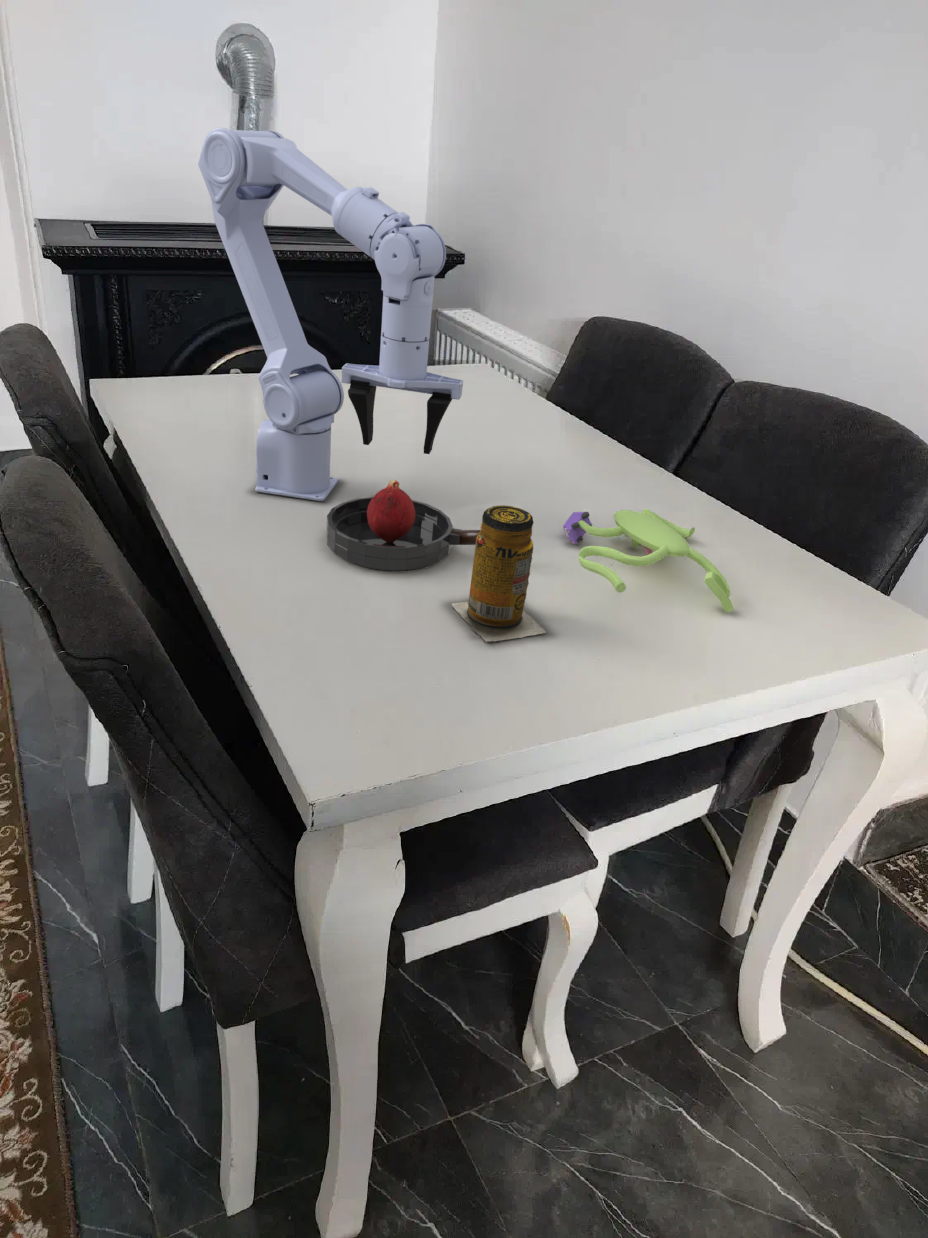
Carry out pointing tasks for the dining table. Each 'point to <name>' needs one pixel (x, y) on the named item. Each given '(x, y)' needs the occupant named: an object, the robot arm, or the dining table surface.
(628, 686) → the dining table surface
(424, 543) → the pan
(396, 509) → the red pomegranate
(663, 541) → the figurine
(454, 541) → the pan handle
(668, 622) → the dining table surface
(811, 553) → the dining table surface
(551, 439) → the dining table surface
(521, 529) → the condiment
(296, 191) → the robot arm
